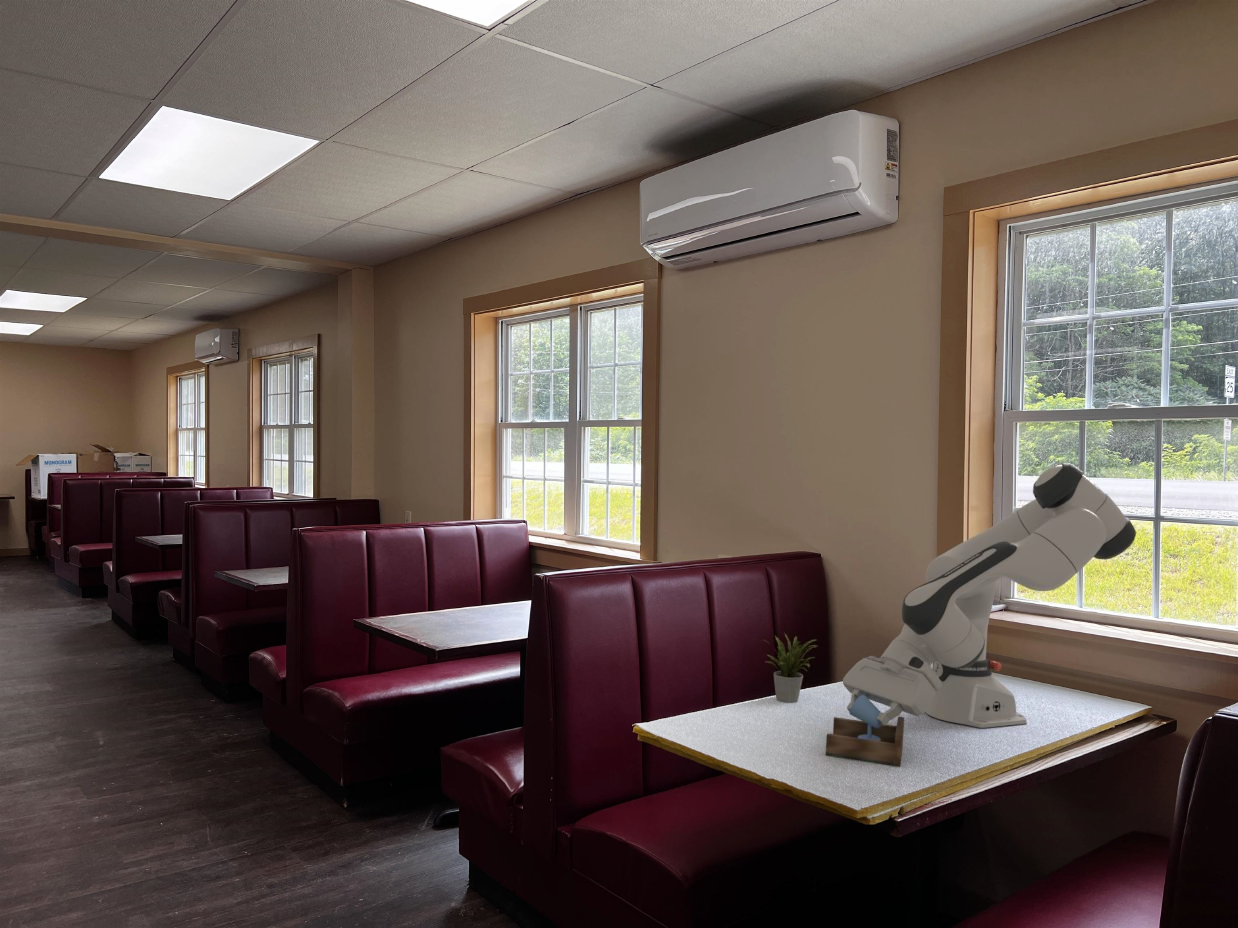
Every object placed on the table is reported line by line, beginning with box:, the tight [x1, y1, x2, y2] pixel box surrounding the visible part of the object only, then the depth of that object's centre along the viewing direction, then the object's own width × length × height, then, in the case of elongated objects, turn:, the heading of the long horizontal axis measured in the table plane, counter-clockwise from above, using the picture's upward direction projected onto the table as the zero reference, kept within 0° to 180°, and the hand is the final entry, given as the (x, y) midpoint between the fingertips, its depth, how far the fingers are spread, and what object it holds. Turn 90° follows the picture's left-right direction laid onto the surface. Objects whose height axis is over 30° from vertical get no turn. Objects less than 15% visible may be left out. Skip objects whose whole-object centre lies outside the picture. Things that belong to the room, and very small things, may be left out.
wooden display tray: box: [825, 716, 905, 768], centre depth 176 cm, size 14×14×6 cm
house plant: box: [763, 632, 818, 704], centre depth 212 cm, size 14×14×16 cm
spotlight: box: [849, 695, 882, 741], centre depth 176 cm, size 5×10×7 cm
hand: (865, 716), depth 176 cm, fingers closed on spotlight, 7 cm apart
